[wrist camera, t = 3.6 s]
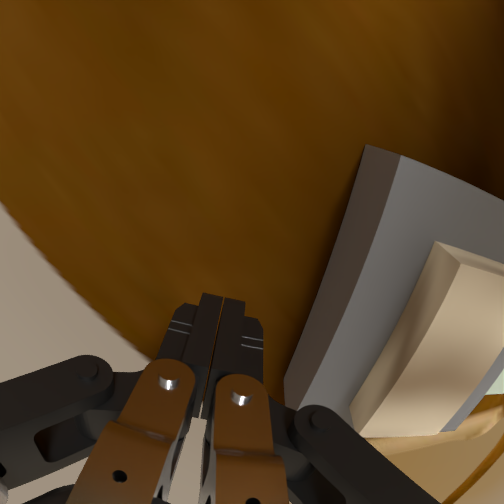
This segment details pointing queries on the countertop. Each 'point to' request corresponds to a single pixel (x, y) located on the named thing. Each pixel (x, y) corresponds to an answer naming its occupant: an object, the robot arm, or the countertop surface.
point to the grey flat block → (386, 275)
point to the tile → (435, 347)
